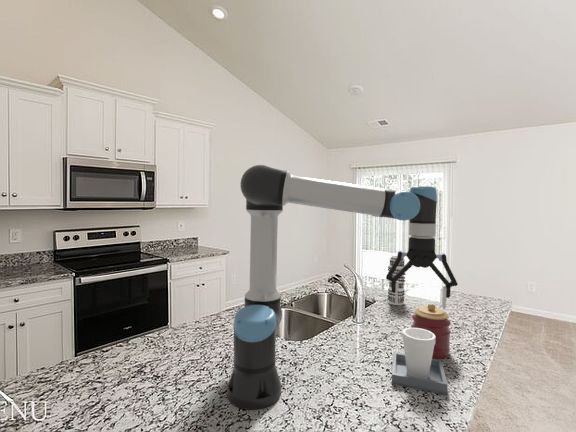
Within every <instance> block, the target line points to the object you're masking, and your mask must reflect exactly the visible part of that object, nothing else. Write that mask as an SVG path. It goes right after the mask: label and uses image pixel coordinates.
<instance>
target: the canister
mask: <svg viewBox="0 0 576 432" xmlns="http://www.w3.org/2000/svg"><path fill="white" fill-rule="evenodd" d="M411 318H412V319H411V320H412V321H413V322H412V324H411V328H420V329H425V330H428V331H430V332H432V333H434V335H435V336H436V339H435V345H434V350H433V355H432V359H438V360H443V359H446V358H448V356H449V355H450V350H451V347H450V344H451V343H450V341H451V339H450V338H451V330H450V325H451V324H452V321H451V320H450V319H449V314H448V313H447V312H445V311H444V309H443V308H439V307H436V306H435V304H434V303H429V304H428V305H425V306H424V305H423V306H419V308H416V309H415V310H414V314H413V315H412V316H411Z"/></svg>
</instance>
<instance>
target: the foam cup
mask: <svg viewBox="0 0 576 432" xmlns="http://www.w3.org/2000/svg"><path fill="white" fill-rule="evenodd" d="M435 339H436V336H435V335H434V333H432V332H430V331H428V330H425V329H420V328H412V327H407V328H404V329H403V330H402V341H403V348H404V349H403V350H404V351H403V352H404V354H405V360H406V370H407V374H408V375H409V376H413V377H419V378H424V379H427V378H428V377H429V372H430V366H431V361H432V359H433V358H432V355H433V350H434V345H435Z"/></svg>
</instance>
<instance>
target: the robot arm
mask: <svg viewBox="0 0 576 432" xmlns="http://www.w3.org/2000/svg"><path fill="white" fill-rule="evenodd" d="M239 186H240V191H241V194H242V196H243V198H245V199H246V200H245V202H246V203H245V204H246V205H245V206H246V207H245V210H246V212H247V213H248V214H249V215H250V239H249V240H250V242H249V243H250V248H249V249H250V253H249V289H248V291H247V292H246V293H245V294H244V307H242V308H240V309H239V310H237V312H236V313H235V315H234V319H233V325H232V326H233V329H232V330H233V368H232V371H231V375H230V378H229V381H228V384H227V389H226V390H227V399H228V401H229V402H230V403H231V404H232V405H233V406H236V407H238V408H240V409H243V410H244V409H245V410H260V409H264V408H268V407H270V406H272V405H274V404H275V403H276V402H277V401H279V399H280V398H281V395H282V382H281V379H280V376H279V373H278V369H277V367H276V344H277V343H276V341H277V336H278V335H277V334H278V330H279V329H280V328H279V327H280V323H281V321H282V319H283V318H282V316H283V310H282V307H281V306H282V305H281V301H282V300H281V298H282V297H281V296H282V295H281V293H280V292H279V291H278V290H277V269H278V268H277V266H278V223H279V222H278V221H279V218H278V217H279V215H281V213H282V212H283V211H284V210H283V208H284V207H285V206H286V205H287V204H296V205H300V206H301V205H302V206H309V207H315V208H320V209H327V210H334V211H340V212H341V211H342V212H349V213H354V214H361V215H369V216H371V217H377V218H387V219H388V218H389V219H395V220H398V221H403V222H404V221H409V222H408V223H409V224H408V227H409V228H408V235H409V237H408V248H407V249H408V250H407V252H405V251H402V250H398V251H397V255H396V256H397V258H396V260H395V262H394V264H393V265H392V267H391V269H389V271H388V272H387V274H386V277H385V279H386V280H390V281H391V282H392V292H395V303H396V304H398V281H397V280H398V279H399V278H400V277H401V276H402V275H403V274H404V273H405V274H406V272H407V271H408V270H409V269H410V268H412V267H415V268H426V269H427V268H428V267H429V268H431V269H430V270H432V271H433V272H434V274H435V275H437V277H438V278H439V279H440V280H441V282H442V283H443V284H444V285H442V293H441V295H442V296H441V307H442V308H441V309H442V310H446V308H447V306H446V305H447V299H448V298H451V288H452V287H457V286H458V285H459V284H458V281H457V279H456V277H455V276H454V274H453V272H452V270H451V267H450V266H449V263H448V261H447V255H446V253H443V252H442V253H439V254H436V239H435V237H436V231H437V230H436V228H437V226H436V225H437V224H436V222H437V221H436V220H437V219H436V218H437V203H438V196H437V195H438V194H437V189H436V187H434V186H430V185H429V186H427V185H426V186H424V185H423V186H412V187H410V189H409V190H410V191H408V190H394V189H385V188H382V187H381V188H380V187H376V186H375V187H374V186H368V185H367V186H366V185H361V184H360V185H359V184H352V183H347V182H339V181H331V180H325V179H319V178H311V177H306V176H305V177H304V176H298V175H293V174H292V173H291V172H290V170H289V171H288V170H283V169H278V168H274V167H271V166H268V165H264V164H257V165H253V166H251V167H249V168H248V169H247V170H245V172H244V173H243V174H242V176H241V178H240V185H239ZM405 257H406V258H407V259H408V261H407V262H406V264H404V265H405V266H404V267H403V268H402V269H401V270H400V271H399V272H398V273H397V274H396V275H395V276H394V277H392V274H393V273H394V271H395V269H396V268H397V266H398V264H399V262H400V261H401V259H405ZM436 259H438V261H439V262H441V263H442V265H443V267H444V269H445V271H446V274H447V275H448V277H449V279H450V281H449V280H448V279H447V278H446V277H445V276H444V275H443V273H442V272H441V271H440V270H439V269H438V267H437V266H436V265H435V264H434V261H435V260H436Z"/></svg>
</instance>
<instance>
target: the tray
mask: <svg viewBox="0 0 576 432" xmlns="http://www.w3.org/2000/svg"><path fill="white" fill-rule="evenodd" d="M392 353H393V354H392V369H391V370H392V371H391V385H393V386H400V387H404V388H409V389H415V390H421V391H426V392H429V393H436V394H441V395H445V396H447V395H448V381H447V377H446V373H445V370H444V369H445V368H444V365H443V361H442V360H443V359H433V358H432V361H431V366H430V372H429V377H428V378H427V379H424V378H419V377H413V376H409V375H408V374H407V370H406V360H405V353H400V352H392Z"/></svg>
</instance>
